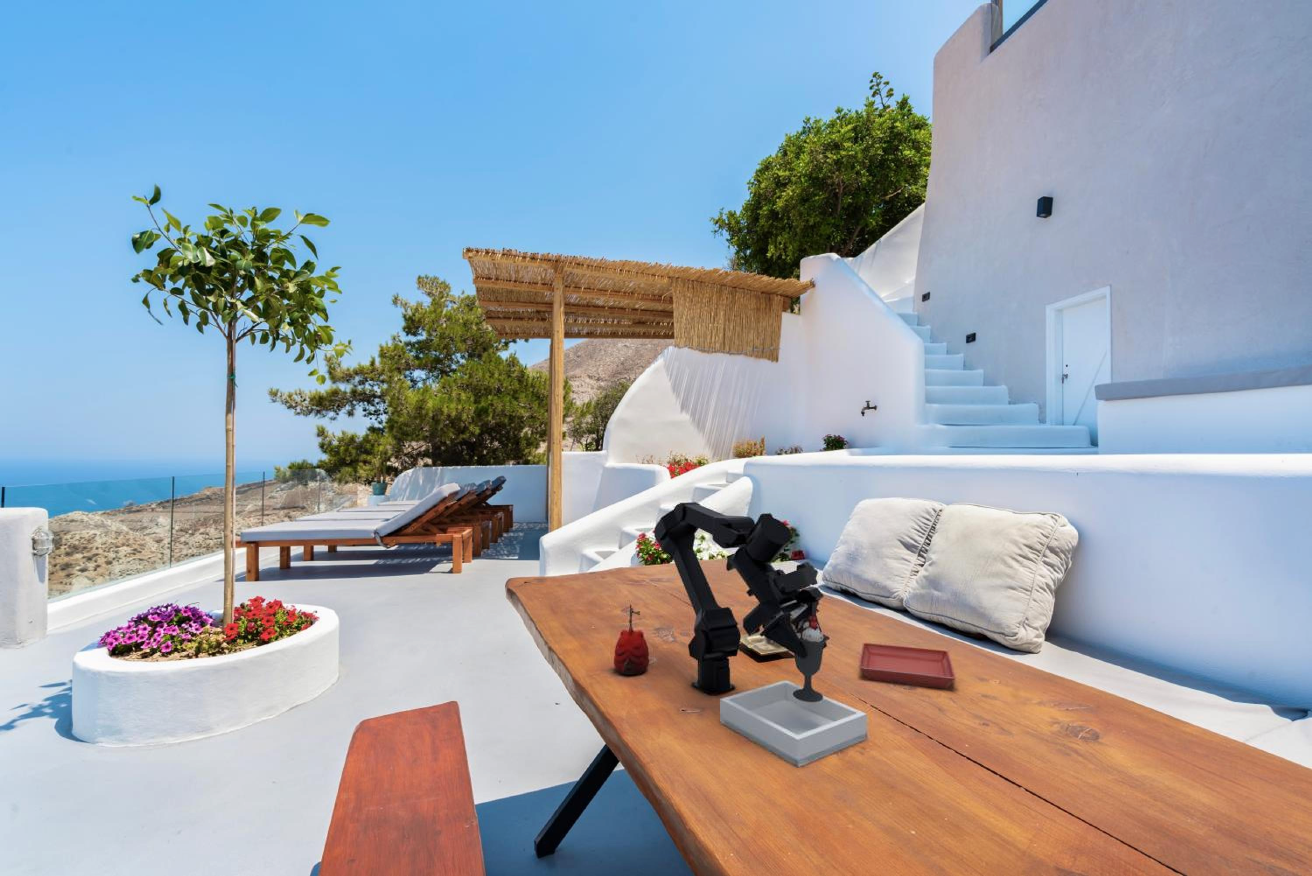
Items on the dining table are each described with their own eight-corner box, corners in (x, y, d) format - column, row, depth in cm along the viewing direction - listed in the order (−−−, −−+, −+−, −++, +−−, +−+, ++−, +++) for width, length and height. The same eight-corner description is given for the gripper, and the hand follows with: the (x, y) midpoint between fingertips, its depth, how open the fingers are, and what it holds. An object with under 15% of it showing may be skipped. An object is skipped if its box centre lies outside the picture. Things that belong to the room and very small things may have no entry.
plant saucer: (858, 682, 121) (858, 666, 121) (862, 655, 138) (862, 641, 138) (956, 695, 114) (956, 678, 114) (948, 665, 131) (948, 650, 131)
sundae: (826, 707, 94) (827, 613, 94) (784, 700, 97) (785, 608, 97) (831, 692, 100) (831, 604, 101) (791, 685, 103) (791, 599, 103)
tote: (720, 722, 102) (720, 699, 102) (785, 701, 110) (785, 680, 111) (798, 767, 87) (798, 739, 87) (867, 739, 95) (866, 714, 96)
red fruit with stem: (650, 666, 130) (650, 598, 130) (646, 678, 123) (646, 606, 123) (616, 665, 130) (616, 597, 131) (610, 677, 123) (610, 605, 124)
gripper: (758, 554, 95) (821, 639, 87) (814, 542, 109) (872, 614, 101) (719, 595, 100) (774, 677, 92) (776, 578, 114) (829, 649, 106)
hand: (815, 652), depth 98 cm, fingers closed on sundae, 6 cm apart
